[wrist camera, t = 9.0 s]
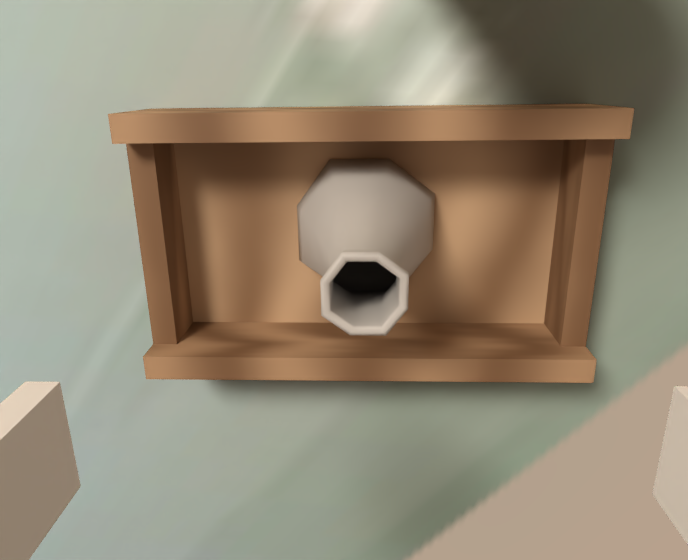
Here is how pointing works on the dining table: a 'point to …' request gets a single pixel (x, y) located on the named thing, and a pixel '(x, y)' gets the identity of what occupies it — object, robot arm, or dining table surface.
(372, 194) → the flask
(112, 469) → the dining table surface
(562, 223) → the wooden tray
